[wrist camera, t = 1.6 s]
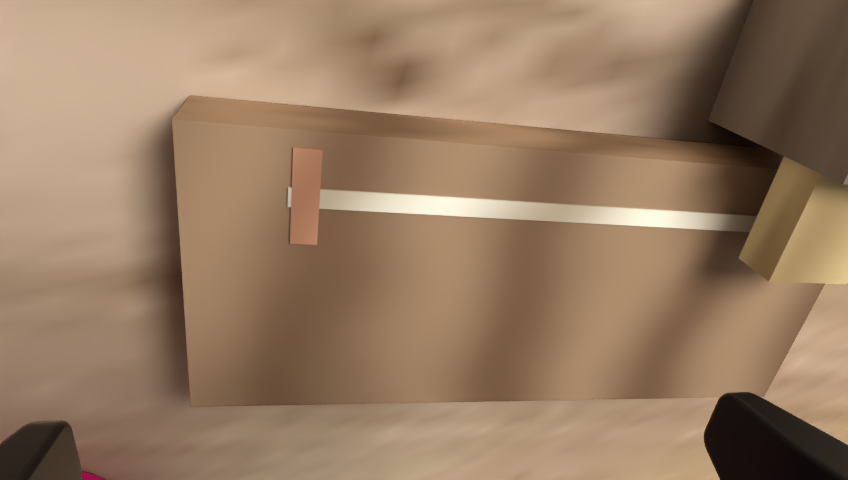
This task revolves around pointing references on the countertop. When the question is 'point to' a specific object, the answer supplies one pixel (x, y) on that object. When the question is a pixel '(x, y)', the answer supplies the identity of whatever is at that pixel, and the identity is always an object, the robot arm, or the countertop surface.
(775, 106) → the grey and beige block
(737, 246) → the plank
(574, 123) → the countertop surface
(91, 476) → the pepper mill
